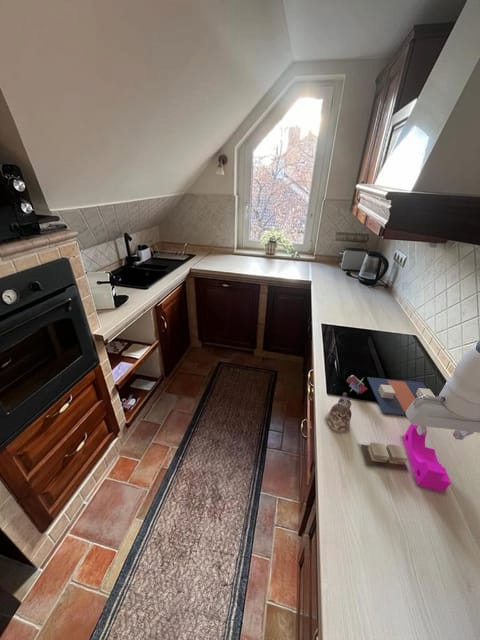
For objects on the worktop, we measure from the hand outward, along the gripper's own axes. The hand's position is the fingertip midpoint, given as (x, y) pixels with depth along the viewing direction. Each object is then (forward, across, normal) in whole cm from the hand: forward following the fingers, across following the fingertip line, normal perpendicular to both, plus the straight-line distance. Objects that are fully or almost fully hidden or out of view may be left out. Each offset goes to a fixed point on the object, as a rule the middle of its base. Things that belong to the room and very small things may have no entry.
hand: (438, 435), depth 69 cm
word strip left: (+13, -11, 0) cm, 17 cm away
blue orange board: (+13, +6, +26) cm, 30 cm away
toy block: (+13, 0, 0) cm, 13 cm away
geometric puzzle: (+13, -12, +27) cm, 32 cm away
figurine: (+13, -22, +11) cm, 28 cm away
